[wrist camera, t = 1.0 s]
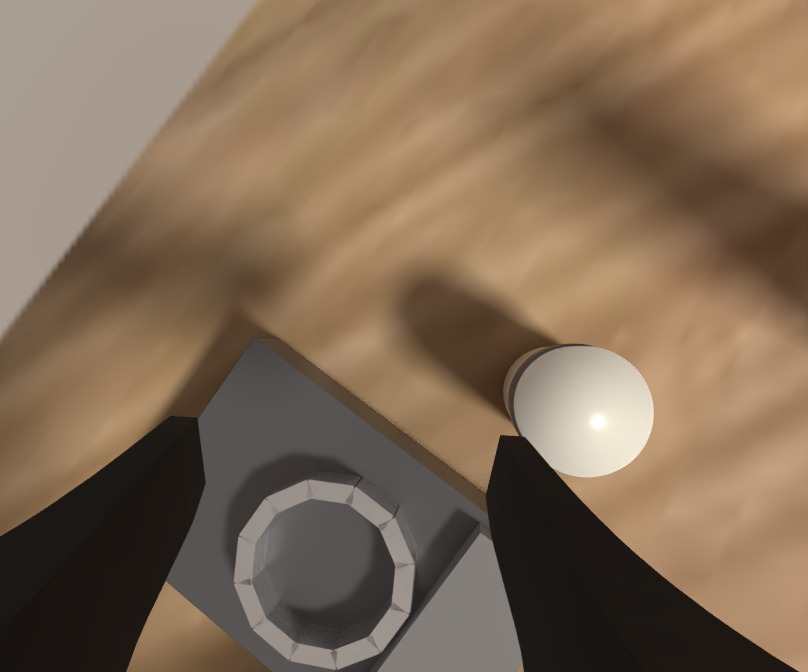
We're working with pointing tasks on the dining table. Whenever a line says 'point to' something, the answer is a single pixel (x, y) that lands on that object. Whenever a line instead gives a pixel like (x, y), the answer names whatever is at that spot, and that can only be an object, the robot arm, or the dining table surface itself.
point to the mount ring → (286, 625)
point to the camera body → (340, 524)
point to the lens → (579, 407)
